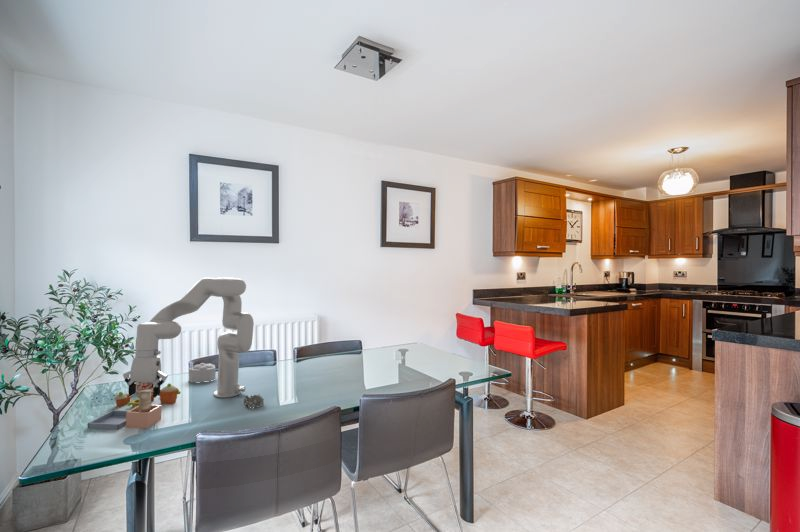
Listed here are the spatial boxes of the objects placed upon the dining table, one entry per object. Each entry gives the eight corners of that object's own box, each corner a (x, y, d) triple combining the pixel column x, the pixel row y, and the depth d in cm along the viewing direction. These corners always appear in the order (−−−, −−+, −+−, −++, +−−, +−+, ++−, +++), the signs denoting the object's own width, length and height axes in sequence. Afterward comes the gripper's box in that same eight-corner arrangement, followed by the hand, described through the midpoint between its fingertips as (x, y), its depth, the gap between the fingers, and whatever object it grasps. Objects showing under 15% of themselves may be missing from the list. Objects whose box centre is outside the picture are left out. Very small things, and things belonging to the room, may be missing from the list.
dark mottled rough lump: (242, 402, 181) (242, 394, 181) (258, 399, 186) (258, 391, 186) (248, 410, 173) (249, 401, 173) (265, 407, 178) (265, 398, 178)
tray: (141, 418, 159) (141, 411, 158) (118, 432, 146) (118, 424, 145) (112, 417, 158) (112, 410, 158) (87, 430, 145) (87, 423, 145)
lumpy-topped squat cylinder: (215, 381, 209) (216, 366, 209) (189, 384, 202) (189, 368, 202) (213, 376, 218) (214, 361, 218) (188, 378, 211) (188, 363, 211)
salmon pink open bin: (161, 421, 156) (161, 404, 156) (147, 430, 148) (148, 413, 148) (140, 420, 156) (141, 404, 156) (125, 429, 148) (126, 412, 148)
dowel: (152, 421, 154) (153, 389, 154) (145, 425, 150) (147, 393, 150) (142, 420, 154) (143, 389, 154) (135, 425, 150) (137, 392, 150)
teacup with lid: (134, 394, 184) (135, 371, 184) (134, 389, 191) (135, 366, 191) (162, 391, 190) (163, 368, 190) (162, 385, 198) (163, 363, 198)
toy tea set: (177, 394, 188) (178, 375, 188) (184, 403, 177) (185, 383, 177) (112, 405, 171) (113, 384, 171) (115, 416, 160) (116, 394, 159)
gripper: (173, 352, 156) (171, 393, 155) (131, 350, 155) (129, 391, 155) (162, 356, 148) (159, 399, 148) (118, 354, 148) (115, 397, 148)
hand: (144, 395), depth 152 cm, fingers open, 9 cm apart
